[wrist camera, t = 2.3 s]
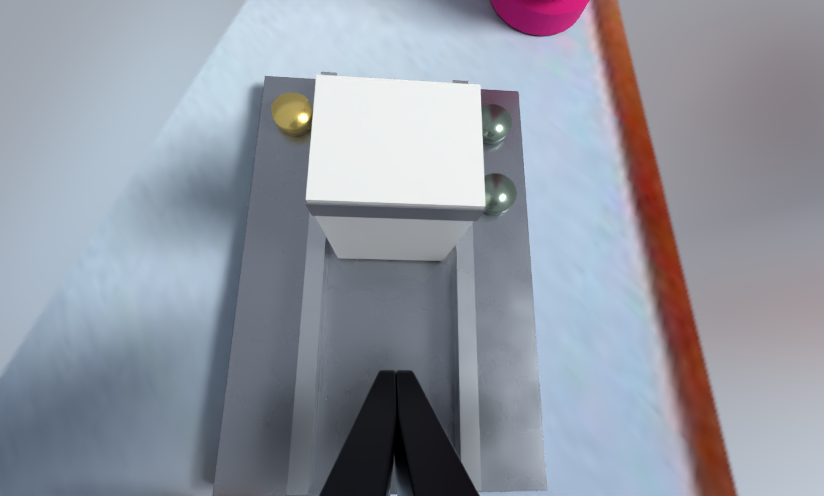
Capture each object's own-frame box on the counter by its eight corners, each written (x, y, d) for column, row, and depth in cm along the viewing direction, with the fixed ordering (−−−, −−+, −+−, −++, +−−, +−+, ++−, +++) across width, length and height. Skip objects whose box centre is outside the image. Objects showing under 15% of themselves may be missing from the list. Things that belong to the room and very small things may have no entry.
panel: (537, 481, 17) (560, 502, 15) (222, 488, 16) (197, 512, 14) (512, 102, 22) (526, 76, 19) (270, 88, 20) (257, 59, 18)
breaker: (443, 261, 18) (487, 208, 10) (337, 259, 17) (303, 201, 10) (442, 183, 18) (481, 83, 11) (341, 179, 18) (314, 72, 11)
